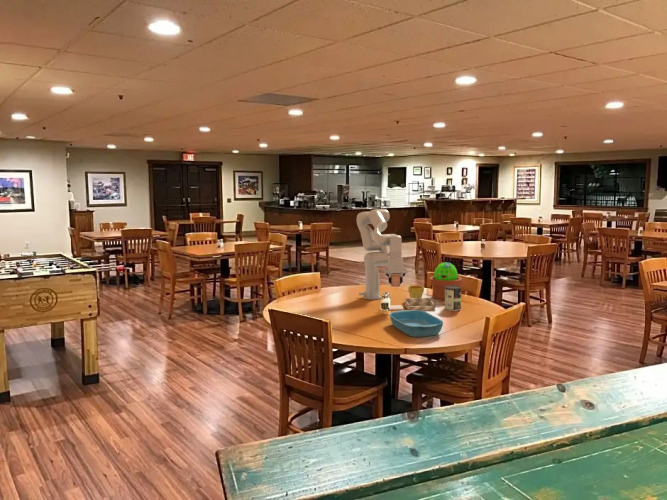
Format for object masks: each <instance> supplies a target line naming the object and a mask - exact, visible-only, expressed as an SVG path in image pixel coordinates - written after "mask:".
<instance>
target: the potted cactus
mask: <svg viewBox="0 0 667 500" xmlns="http://www.w3.org/2000/svg"><path fill="white" fill-rule="evenodd" d="M428 280H429V281H428V282H429V285H432V298H433V299H436V300H441V301H445V286H450V285H454V286H461V285H463V278H462V277H461V276H459V274H458V270H457V268H456V266H455V265H454V264H453V263H451V262H446V261H445V262H444V261H443V262H440V263H439V264H438V265H437V266H436V267H435V269H434V271H433V275H432V276H430V277H429V279H428Z"/></svg>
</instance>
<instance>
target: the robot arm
mask: <svg viewBox="0 0 667 500" xmlns="http://www.w3.org/2000/svg"><path fill="white" fill-rule="evenodd" d="M390 217H391V216H390V212H389V211H388V210H387V209H385V208H381V209H379V208H378V209H372V210H370V211H362V212H359V213H357V216H356V225H357V228H358V230H359V233H360V237H361V241H362V245H363V249H364V251H366V252H368V253H366V254H365V255H364V257H363V262H364V268H365V269H364V270H365V274H364V275H365V290H364V291H361V292H360V291H359V292H358V295H359V296H363V299H364V300H374V301H375V300H380V299H382V298H381V297H382V295H381V294H380V272H379V269H378V268H377V267H379V266H381V267H382V266H387V267H386V268H385V269H384V270H383V271H382V272H383V274H384V275H385V276H386V277H388V283H389V285H391V274H401V275H400V285H402V284H403V281H404V279H403V278H404V276H405V275H406V274H408V272H409V271H408V270H407V269H406V268H405V267H404V266H405V261H404V258H403V256H402V255H403V254H402V250H403V249H402V247H403V243H402V236H401V235H398V234H396V233H388V234H387V233H384V234H381V233H382V232H384V231H385V230H386V229H387V227H388V223H387V222H388V221H390ZM370 225H372V226H373V228H374V229H372V228H371V226H370ZM388 247H389V251H388Z"/></svg>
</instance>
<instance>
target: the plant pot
mask: <svg viewBox="0 0 667 500" xmlns="http://www.w3.org/2000/svg"><path fill="white" fill-rule="evenodd" d="M407 292H408V294H409V298H423V293H424V292H425V287H424V286H422V285H409V286H408V288H407Z"/></svg>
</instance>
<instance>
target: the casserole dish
mask: <svg viewBox="0 0 667 500" xmlns="http://www.w3.org/2000/svg"><path fill="white" fill-rule="evenodd" d="M388 316H389V318H390V321H391V323H392V325H393V327H394V328H396V329H398V330H399V331H401V332H403V333H404V334H405V335H407V336H409V337H414V338H421V337H431V336H437V335H438V334H440V333H441V330H442V329H443V326H444V325H443V324H444V321H443V320H442V319H440V318H439V317H436V316H434V315H433V314H431V313H429V312H427V311H426V310H408V309H407V310H395V311H393V312H390V313H389V314H388Z"/></svg>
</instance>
